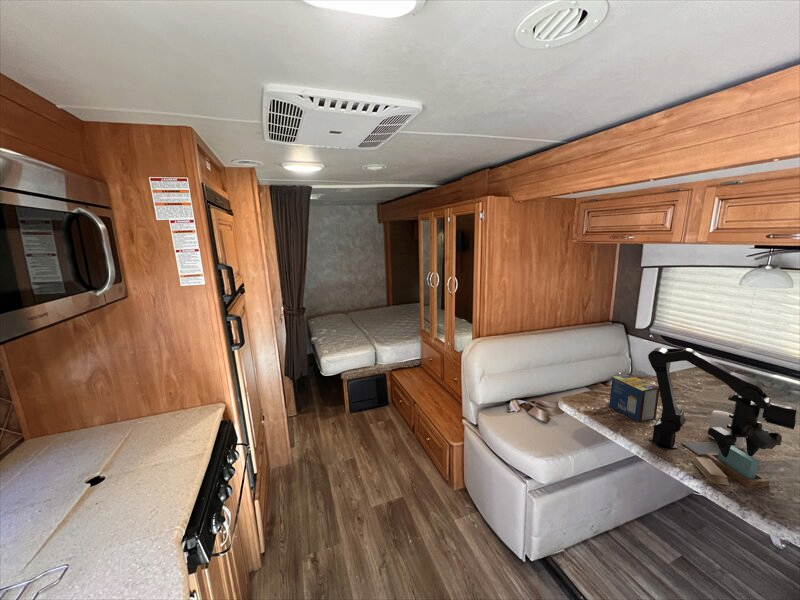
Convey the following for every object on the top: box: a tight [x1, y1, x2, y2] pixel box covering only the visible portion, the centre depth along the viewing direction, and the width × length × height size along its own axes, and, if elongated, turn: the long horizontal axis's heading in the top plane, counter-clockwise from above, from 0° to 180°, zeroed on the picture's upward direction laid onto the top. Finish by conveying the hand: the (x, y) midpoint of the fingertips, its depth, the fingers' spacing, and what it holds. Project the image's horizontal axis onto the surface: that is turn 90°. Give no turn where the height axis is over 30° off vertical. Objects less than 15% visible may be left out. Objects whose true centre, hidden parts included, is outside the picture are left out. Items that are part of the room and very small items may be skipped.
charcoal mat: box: [681, 441, 719, 457], centre depth 121 cm, size 13×7×1 cm, turn 92°
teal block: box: [717, 446, 760, 480], centre depth 109 cm, size 2×10×8 cm, turn 2°
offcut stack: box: [691, 456, 730, 486], centre depth 109 cm, size 5×11×3 cm, turn 162°
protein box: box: [608, 374, 660, 422], centre depth 147 cm, size 10×15×16 cm
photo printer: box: [707, 410, 746, 450], centre depth 124 cm, size 10×4×12 cm, turn 29°
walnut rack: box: [704, 453, 771, 488], centre depth 109 cm, size 7×14×2 cm, turn 2°
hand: (737, 456), depth 108 cm, fingers open, 9 cm apart
